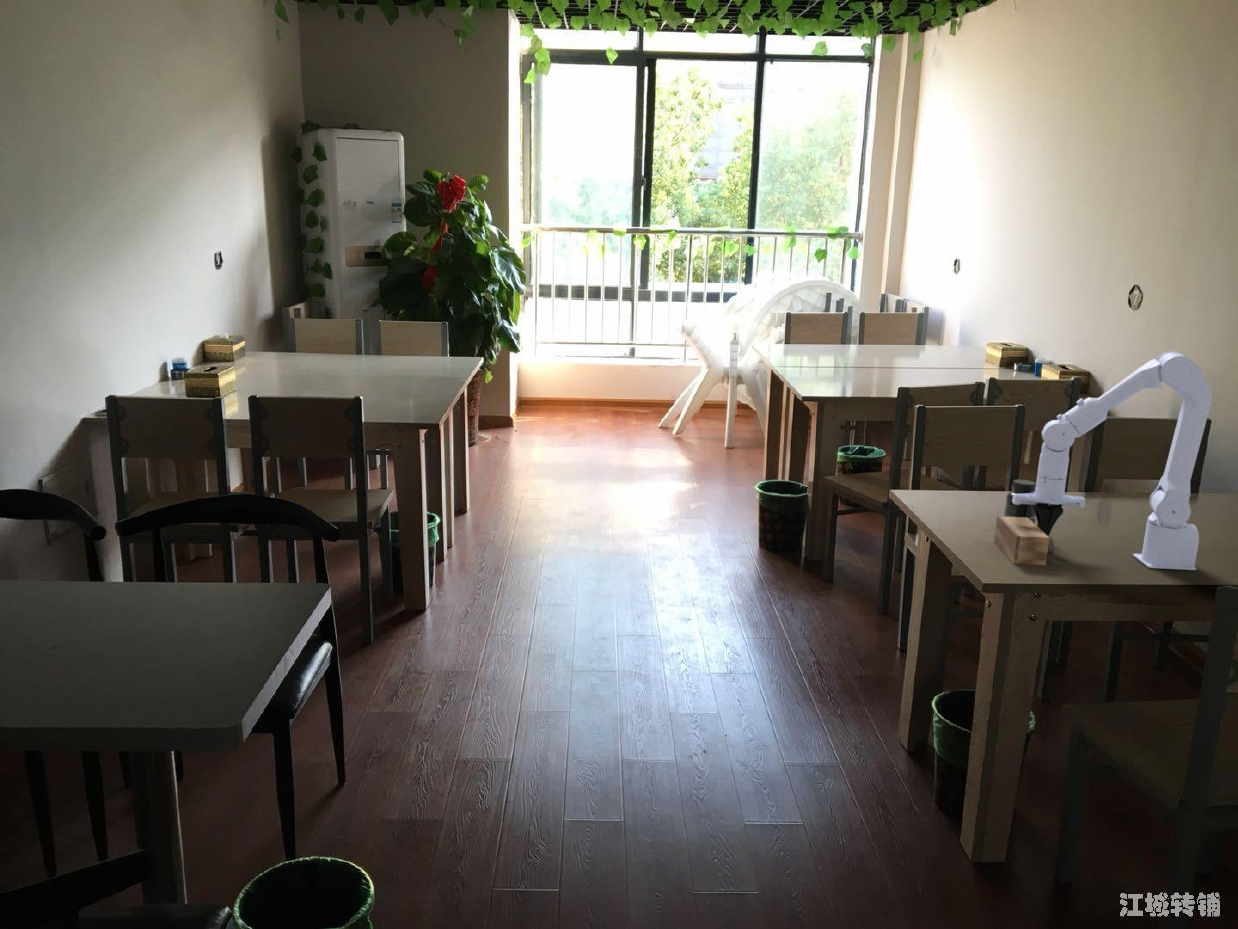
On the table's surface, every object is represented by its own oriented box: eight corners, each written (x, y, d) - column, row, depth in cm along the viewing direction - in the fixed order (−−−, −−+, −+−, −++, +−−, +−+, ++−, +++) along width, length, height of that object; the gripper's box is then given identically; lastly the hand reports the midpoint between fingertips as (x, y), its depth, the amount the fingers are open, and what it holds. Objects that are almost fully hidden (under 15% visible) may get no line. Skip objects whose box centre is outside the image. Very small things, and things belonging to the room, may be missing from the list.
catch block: (1024, 543, 217) (1027, 517, 216) (1045, 565, 204) (1049, 537, 202) (994, 542, 218) (997, 516, 216) (1013, 563, 204) (1017, 536, 203)
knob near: (1044, 553, 209) (1047, 533, 208) (1051, 561, 204) (1054, 540, 203) (1011, 552, 209) (1014, 531, 208) (1018, 559, 205) (1020, 538, 204)
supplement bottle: (1036, 538, 221) (1043, 487, 218) (1004, 536, 222) (1011, 484, 219) (1030, 529, 228) (1037, 479, 225) (999, 527, 229) (1005, 477, 226)
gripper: (1022, 479, 207) (1014, 541, 210) (1094, 483, 206) (1084, 544, 209) (1012, 471, 214) (1004, 531, 217) (1081, 474, 213) (1072, 534, 216)
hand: (1043, 537), depth 214 cm, fingers closed
